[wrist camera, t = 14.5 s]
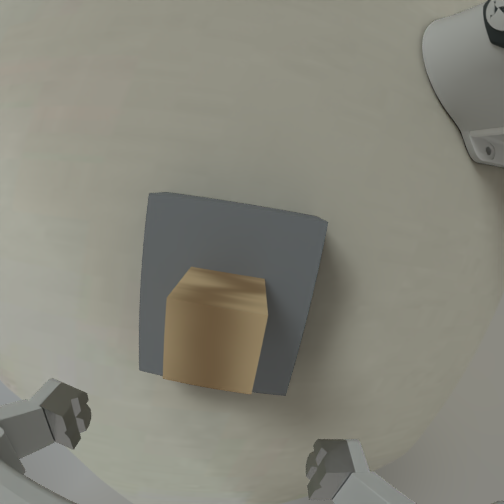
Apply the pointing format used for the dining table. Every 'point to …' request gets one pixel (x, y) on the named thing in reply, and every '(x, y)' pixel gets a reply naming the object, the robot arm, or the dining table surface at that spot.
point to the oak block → (215, 330)
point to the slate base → (231, 271)
